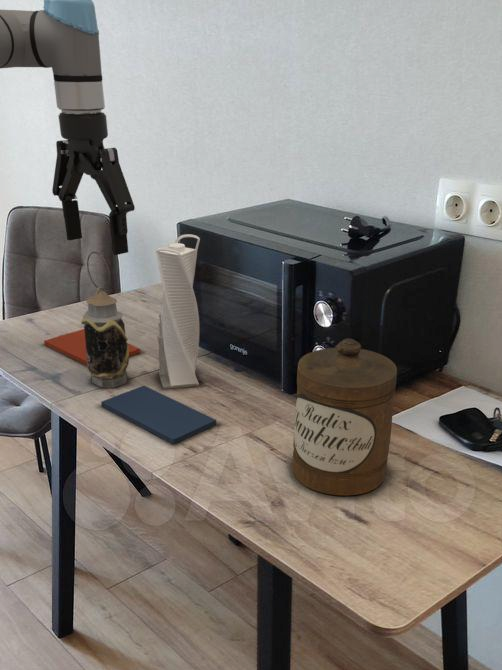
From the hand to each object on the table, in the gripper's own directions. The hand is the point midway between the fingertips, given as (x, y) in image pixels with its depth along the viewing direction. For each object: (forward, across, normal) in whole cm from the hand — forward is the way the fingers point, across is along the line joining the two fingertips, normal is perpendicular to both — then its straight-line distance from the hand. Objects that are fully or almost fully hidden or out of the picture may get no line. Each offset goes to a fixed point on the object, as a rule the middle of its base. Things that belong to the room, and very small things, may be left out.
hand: (97, 246), depth 125 cm
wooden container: (+26, -53, -5) cm, 59 cm away
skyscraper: (+26, -10, -10) cm, 30 cm away
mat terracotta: (+26, +16, -7) cm, 31 cm away
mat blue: (+26, -18, +3) cm, 32 cm away
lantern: (+26, 0, 0) cm, 26 cm away
